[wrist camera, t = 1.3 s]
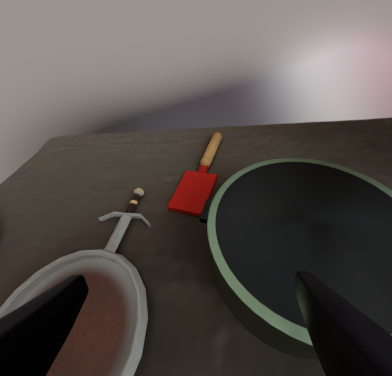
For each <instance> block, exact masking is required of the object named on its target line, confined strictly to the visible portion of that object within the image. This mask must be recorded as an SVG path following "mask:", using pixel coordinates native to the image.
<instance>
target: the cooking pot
mask: <svg viewBox="0 0 392 376" xmlns="http://www.w3.org/2000/svg"><path fill="white" fill-rule="evenodd" d="M199 219H200V222H202V223H206V224H207V233H208V240H209V246H210V250H211V255H212V260H213V264H214V269H215V274H216V278H217V282H218V285H219V288H220V291H221V293H222V296H223V298H224V300H225V302H226V303H227V305H228V307H229V308H230V310H231V311H232V313H233V314H234V315H235V317H236V318H237V319H238V320H239V322H240V323H241V324H242V325H243V326H244V327H245V328H246V329H247V330H248V331H250V332H251V333H252V334H253V335H254V336H256V337H257V338H258V339H260V340H261V341H263V342H264V343H266V344H268V345H269V346H271V347H273V348H275V349H277V350H280V351H282V352H284V353H287V354H291V355H294V356H298V357H304V358H316V359H319V358H318V356H317V354H316V351H315V349H314V347H313V344H312V342H311V339H310V337H309V334H308V331H307V328H306V325H305V322H304V318H303V315H302V312H301V309H300V306H299V303H298V300H297V297H296V294H295V275H296V272H298V271H307V272H309V273H311V274H312V275H313V276H315V277H316V278H317V279H319V280H320V281H321V282H323V283H324V284H325V285H326V286H328V287H329V288H330V289H332V290H333V291H334V292H336V293H337V294H338V295H340V296H341V297H342V298H343V299H345V300H346V301H347V302H349V303H350V304H351V305H353V306H354V307H355V308H357V309H358V310H359V311H361V312H362V313H363V314H364V315H366V316H367V317H368V318H370V319H371V320H372V321H374V322H375V323H376V324H378V325H379V326H380V327H382V328H383V329H384V330H385V331H387V332H388V333H389V334H391V335H392V190H390V189H389V188H387V187H385V186H384V185H382V184H381V183H379V182H377V181H375V180H373V179H371V178H370V177H368V176H366V175H363V174H361V173H359V172H356V171H354V170H352V169H349V168H346V167H343V166H340V165H336V164H333V163H329V162H324V161H319V160H313V159H304V158H282V159H273V160H268V161H263V162H260V163H256V164H253V165H251V166H248V167H246V168H244V169H242V170H240V171H239V172H237V173H236V174H234V175H233V176H231V177H230V178H229V179H228V180H227V181H226V182H225V183H224V184H223V185H222V186H221V187H220V189H219V190H218V192H217V193H216V195H215V197H214V199H213V200H210V199H206V201H205V204H204V207H203V209H202V212H201V214H200V217H199Z"/></svg>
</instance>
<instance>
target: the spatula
mask: <svg viewBox="0 0 392 376" xmlns="http://www.w3.org/2000/svg"><path fill="white" fill-rule="evenodd" d="M221 139H222V135H221V134H220V133H218V132H217V133H215V134H214V135H213V137H212V139H211V141H210V143H209V145H208V147H207V149H206V151H205V153H204V155H203V158H202V160H201V165H200V167H199V169H198V172H193V171H186V172H185V174H184V176H183V178H182V180H181V182H180V184H179V186H178V187H177V189H176V191H175V193H174V195H173V197H172V199H171V201H170V203H169V204H168V206H167V208H168V210H169V211H174V212H179V213H184V214H189V215H193V216H198V217H200V214H201V212H202V209H203V207H204V204H205V201H206V199H210V197H211V194H212V191H213V189H214V186H215V183H216V180H217V175H216V174H208V173H207V172H208V170H209V166H210V164H211V162H212V160H213V157H214V155H215V153H216V150H217V148H218V146H219V143H220V141H221Z"/></svg>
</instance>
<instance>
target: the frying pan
mask: <svg viewBox="0 0 392 376" xmlns="http://www.w3.org/2000/svg"><path fill="white" fill-rule="evenodd" d="M143 195H144V192H143V190H142V189H141V188H137V189H135V190H134V197H133V199H132V200H131V201H130V204H129V206H128V208H127V210H126V212H125V213H124V212H112V213H109V214H106V215H104V216H101V217H99V218H98V219H99V220H100V221H104V220H106V219H109V218H111V217H114V216H117V217H121V219H120V220H119V222H118V224H117V226H116V228H115V230H114V232H113V234H112V236H111V238H110V240H109V241H108V243H107V245H106V247H105V249H104V250H82V251H79V252H75V253H72V254H69V255H66V256H63V257H60V258H59V259H57V260H55V261H54V262H52V263H50V264H49V265H47V266H45V267H43V268H42V269H40V270H38V271H37V272H36V273H35V274H34V275H32V276H31V277H30V278H29V279H28V280H27V281H25V282H24V283H23V284H22V285H21V286H19V287H18V288H17V289H16V290H15V291H14V292H13V293H12V294H11V296H10V297H9V298H8V299H7V300H6V301H5V303H4V304H3V305H2V306H1V307H0V318H2V317H3V316H5V315H7V314H8V313H10V312H12V311H13V310H15V309H17V308H18V307H20V306H22V305H23V304H25V303H27V302H28V301H30V300H32V299H33V298H35V297H37V296H38V295H40V294H42V293H43V292H45V291H47V290H48V289H50V288H52V287H53V286H55V285H57V284H58V283H60V282H62V281H63V280H65V279H67V278H68V277H70V276H72V275H83V276H84V278H85V280H86V283H87V285H88V288H89V292H88V295H87V297H86V300H85V302H84V304H83V306H82V308H81V310H80V313H79V315H78V317H77V319H76V321H75V323H74V326H73V328H72V330H71V332H70V334H69V335H68V337H67V339H66V341H65V343H64V345H63V346H62V348H61V350H60V352H59V354H58V355H57V357H56V359H55V361H54V362H53V364H52V366H51V368H50V370H49V371H48V373H47V375H46V376H134V373H135V371H136V368H137V366H138V364H139V361H140V359H141V356H142V351H143V345H144V339H145V334H146V328H147V322H148V311H147V300H146V290H145V287H144V285H143V282H142V280H141V278H140V275H139V273H138V271H137V269H136V267H134V266H133V265H132V264H131V263H130V262H129V261H128V260H127V259H126V258H125V257H124V256H123V255H120V254H117V253H115V251H116V249H117V247H118V245H119V243H120V241H121V239H122V237H123V235H124V233H125V231H126V228H127V226H128V224H129V222H130V220H131V218H140V219H142V220H143V221H144V222H145V223H146V224H147V225H148V226H149V227H151V225H150V223H149V222H148V221H147V220H146V219H145V218H144V216H143V215H142V214H136V213H132V212H133V210H134V208H135V206H136V205H137V203H138V200H139V198H140V197H142V196H143Z"/></svg>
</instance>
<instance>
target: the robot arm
mask: <svg viewBox="0 0 392 376" xmlns="http://www.w3.org/2000/svg"><path fill="white" fill-rule="evenodd" d="M88 292H89V288H88V285H87V283H86V280H85V278H84V276H83V275H72V276H70V277H68V278H67V279H65V280H63V281H62V282H60V283H58V284H57V285H55V286H53V287H52V288H50V289H48V290H47V291H45V292H43V293H42V294H40V295H38V296H37V297H35V298H33V299H32V300H30V301H28V302H27V303H25V304H23V305H22V306H20V307H18V308H17V309H15V310H13V311H12V312H10V313H8V314H7V315H5V316H3V317H2V318H0V376H46V375H47V373H48V371H49V370H50V368H51V366H52V364H53V362H54V361H55V359H56V357H57V355H58V354H59V352H60V350H61V348H62V346H63V345H64V343H65V341H66V339H67V337H68V335H69V334H70V332H71V330H72V328H73V326H74V323H75V321H76V319H77V317H78V315H79V313H80V310H81V308H82V306H83V304H84V302H85V300H86V297H87V295H88ZM295 294H296V297H297V300H298V303H299V306H300V309H301V312H302V315H303V318H304V322H305V325H306V328H307V331H308V334H309V337H310V339H311V342H312V344H313V347H314V349H315V351H316V354H317V356H318V358H319V361H320V363H321V365H322V368H323V370H324V372H325V375H326V376H392V335H391V334H389V333H388V332H387V331H385V330H384V329H383V328H382V327H380V326H379V325H378V324H376V323H375V322H374V321H372V320H371V319H370V318H368V317H367V316H366V315H364V314H363V313H362V312H361V311H359V310H358V309H357V308H355V307H354V306H353V305H351V304H350V303H349V302H347V301H346V300H345V299H343V298H342V297H341V296H340V295H338V294H337V293H336V292H334V291H333V290H332V289H330V288H329V287H328V286H326V285H325V284H324V283H323V282H321V281H320V280H319V279H317V278H316V277H315V276H313V275H312V274H311V273H309V272H307V271H298V272H296V275H295Z"/></svg>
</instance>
